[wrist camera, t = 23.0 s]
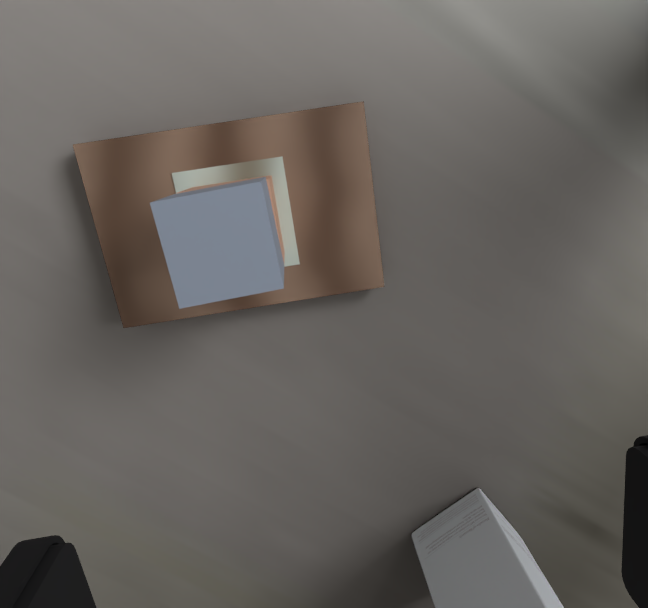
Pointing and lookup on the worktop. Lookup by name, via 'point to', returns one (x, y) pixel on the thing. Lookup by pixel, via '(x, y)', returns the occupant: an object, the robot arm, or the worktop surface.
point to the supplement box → (479, 559)
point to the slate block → (220, 242)
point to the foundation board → (230, 165)
